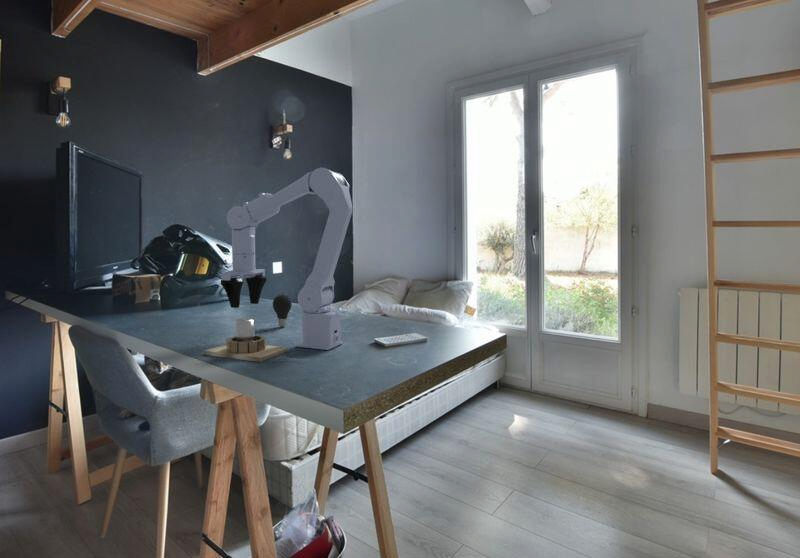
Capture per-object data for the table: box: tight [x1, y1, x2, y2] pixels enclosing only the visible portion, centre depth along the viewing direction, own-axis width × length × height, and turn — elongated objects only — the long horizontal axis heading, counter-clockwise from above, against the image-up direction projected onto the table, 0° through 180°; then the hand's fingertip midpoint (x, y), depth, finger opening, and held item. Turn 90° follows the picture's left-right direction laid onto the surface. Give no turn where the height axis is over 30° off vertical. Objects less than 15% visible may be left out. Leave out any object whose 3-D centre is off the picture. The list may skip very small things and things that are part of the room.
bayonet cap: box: [235, 317, 255, 342], centre depth 109 cm, size 5×4×7 cm
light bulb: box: [272, 294, 292, 328], centre depth 140 cm, size 6×6×10 cm
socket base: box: [203, 334, 288, 363], centre depth 109 cm, size 16×10×4 cm, turn 69°
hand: (245, 305), depth 122 cm, fingers open, 7 cm apart
